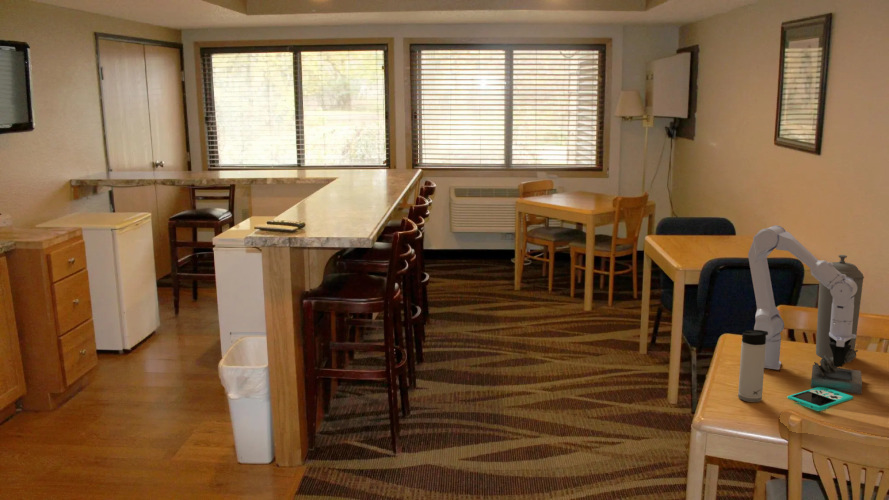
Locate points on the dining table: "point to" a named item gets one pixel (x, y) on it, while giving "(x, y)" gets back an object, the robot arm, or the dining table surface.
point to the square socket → (838, 380)
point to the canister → (826, 308)
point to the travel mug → (752, 365)
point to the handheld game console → (819, 398)
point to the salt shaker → (828, 363)
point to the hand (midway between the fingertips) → (838, 363)
